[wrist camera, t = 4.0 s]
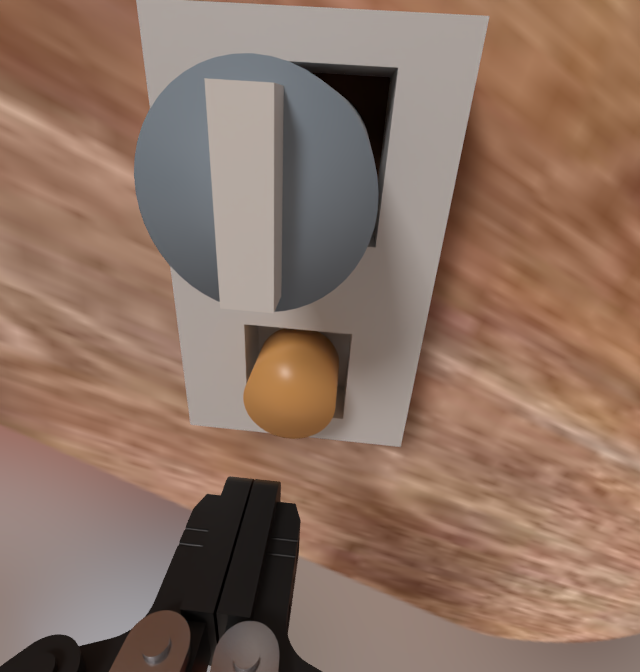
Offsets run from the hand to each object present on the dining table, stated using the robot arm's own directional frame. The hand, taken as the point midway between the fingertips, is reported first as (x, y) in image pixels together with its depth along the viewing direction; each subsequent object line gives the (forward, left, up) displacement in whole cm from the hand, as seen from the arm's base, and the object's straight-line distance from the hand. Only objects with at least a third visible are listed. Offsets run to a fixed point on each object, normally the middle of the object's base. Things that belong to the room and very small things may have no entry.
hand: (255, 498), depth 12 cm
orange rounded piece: (0, 0, -7) cm, 8 cm away
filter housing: (0, -5, -11) cm, 11 cm away
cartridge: (0, -9, -11) cm, 14 cm away
